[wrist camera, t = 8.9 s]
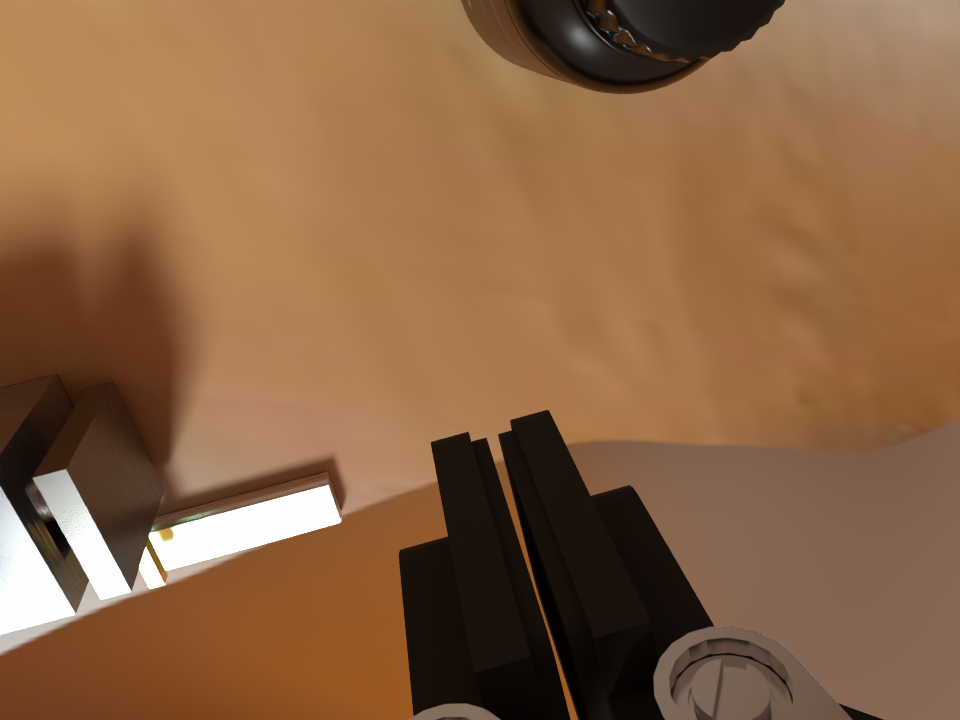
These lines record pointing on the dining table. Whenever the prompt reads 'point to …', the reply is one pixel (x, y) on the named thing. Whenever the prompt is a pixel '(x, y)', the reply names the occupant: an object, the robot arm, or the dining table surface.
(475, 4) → the supplement bottle
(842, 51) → the dining table surface
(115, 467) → the plunger
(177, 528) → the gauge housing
